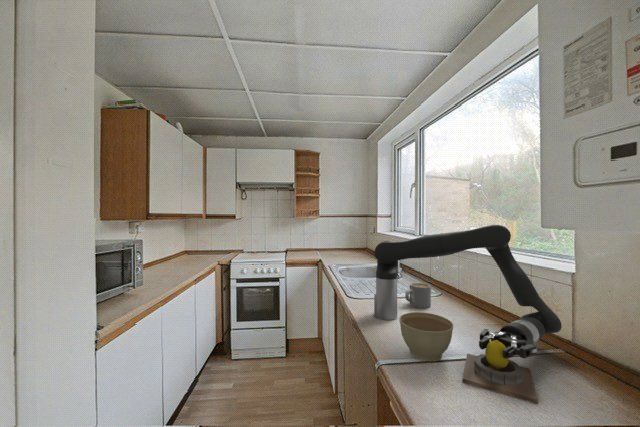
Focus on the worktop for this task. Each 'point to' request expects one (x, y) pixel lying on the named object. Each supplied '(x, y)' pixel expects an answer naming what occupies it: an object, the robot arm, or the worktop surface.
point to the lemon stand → (500, 378)
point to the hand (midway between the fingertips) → (492, 349)
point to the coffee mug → (419, 295)
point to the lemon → (496, 354)
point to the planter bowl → (426, 334)
